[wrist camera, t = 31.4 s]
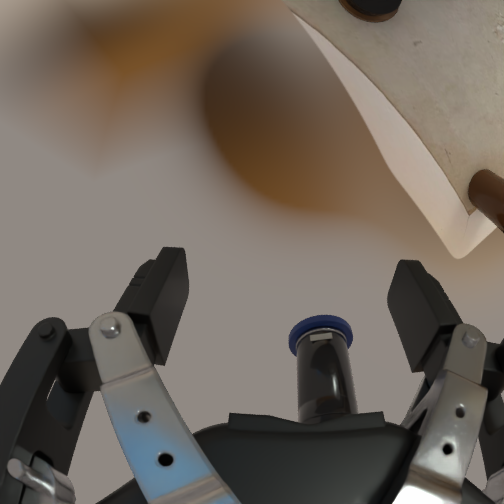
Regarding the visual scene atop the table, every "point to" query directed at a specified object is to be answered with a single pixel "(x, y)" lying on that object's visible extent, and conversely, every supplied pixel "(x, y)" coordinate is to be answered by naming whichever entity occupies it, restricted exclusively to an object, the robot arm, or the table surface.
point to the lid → (374, 6)
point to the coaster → (365, 17)
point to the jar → (488, 196)
